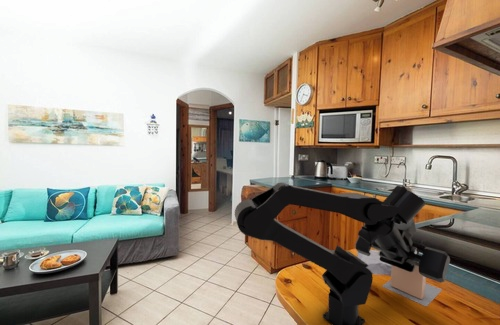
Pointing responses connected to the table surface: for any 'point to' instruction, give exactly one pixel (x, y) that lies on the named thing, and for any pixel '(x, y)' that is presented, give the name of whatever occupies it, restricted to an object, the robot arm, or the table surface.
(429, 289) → the mat
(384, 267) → the stone block
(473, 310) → the table surface
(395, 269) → the tile
